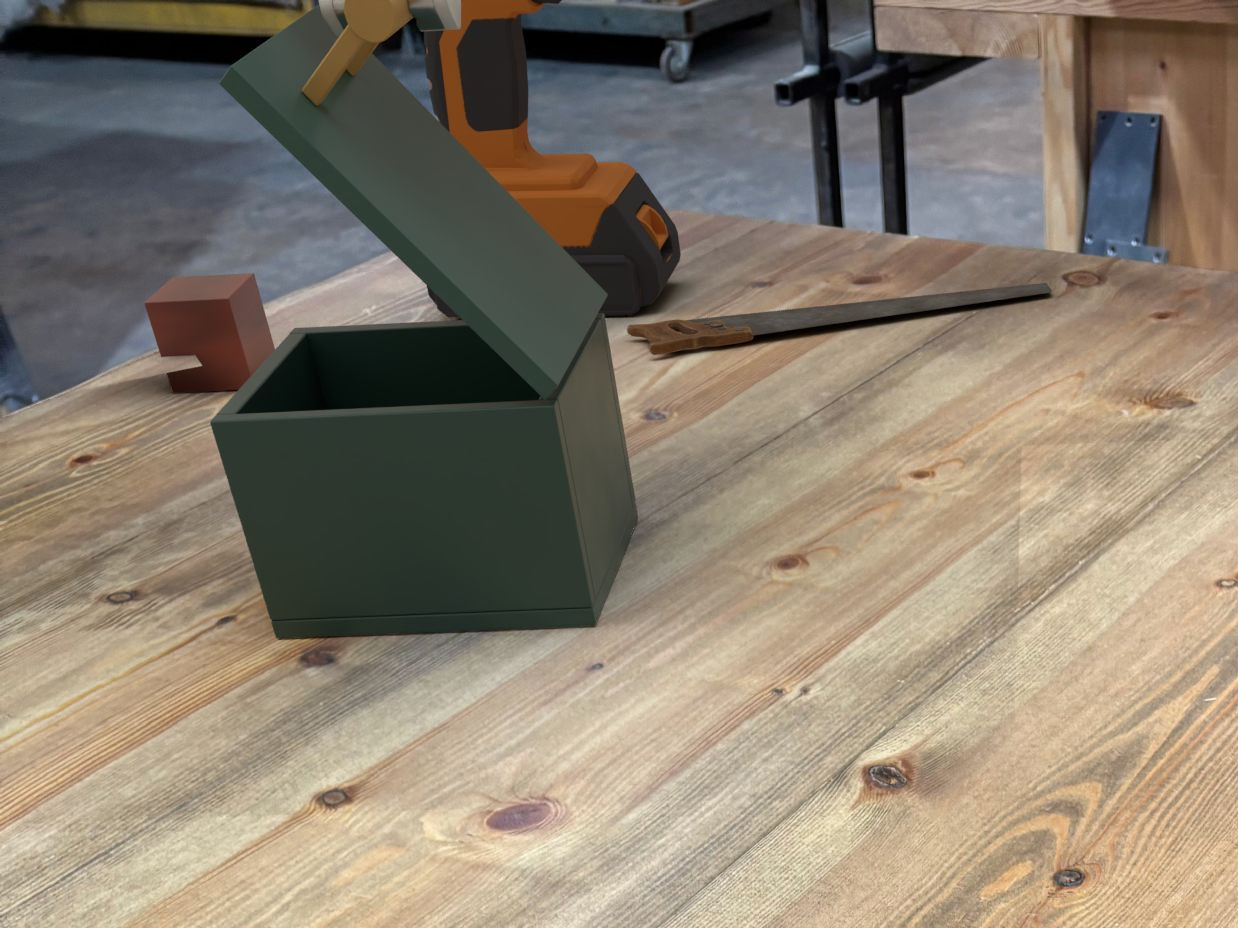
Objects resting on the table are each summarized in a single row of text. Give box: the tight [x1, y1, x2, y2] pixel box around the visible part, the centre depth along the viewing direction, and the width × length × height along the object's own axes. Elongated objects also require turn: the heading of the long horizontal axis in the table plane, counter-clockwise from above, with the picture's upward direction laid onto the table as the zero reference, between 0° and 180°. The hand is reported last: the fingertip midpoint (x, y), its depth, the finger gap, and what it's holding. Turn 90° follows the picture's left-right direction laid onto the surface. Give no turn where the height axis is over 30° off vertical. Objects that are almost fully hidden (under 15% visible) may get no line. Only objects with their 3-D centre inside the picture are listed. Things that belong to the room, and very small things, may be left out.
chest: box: [209, 313, 639, 639], centre depth 82 cm, size 14×12×9 cm
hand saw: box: [626, 282, 1053, 356], centre depth 110 cm, size 24×5×1 cm, turn 108°
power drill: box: [423, 0, 682, 319], centre depth 106 cm, size 22×7×25 cm, turn 85°
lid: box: [218, 0, 608, 400], centre depth 74 cm, size 14×12×6 cm
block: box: [144, 272, 276, 394], centre depth 106 cm, size 5×5×5 cm
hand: (391, 22), depth 71 cm, fingers closed on lid, 2 cm apart
